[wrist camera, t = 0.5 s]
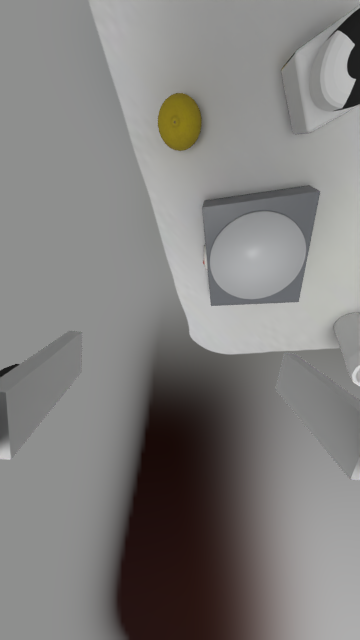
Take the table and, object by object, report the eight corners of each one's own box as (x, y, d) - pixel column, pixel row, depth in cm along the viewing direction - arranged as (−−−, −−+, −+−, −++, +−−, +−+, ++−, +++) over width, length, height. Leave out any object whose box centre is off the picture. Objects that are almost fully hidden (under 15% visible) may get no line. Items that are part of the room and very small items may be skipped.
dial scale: (200, 201, 38) (197, 209, 33) (309, 185, 34) (321, 192, 30) (208, 292, 48) (207, 307, 44) (292, 288, 45) (299, 303, 41)
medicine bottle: (348, 21, 24) (424, -52, 15) (353, 100, 28) (418, 80, 19) (279, 69, 27) (308, 33, 18) (292, 135, 31) (322, 133, 22)
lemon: (157, 124, 32) (141, 120, 26) (185, 86, 29) (175, 71, 23) (182, 159, 34) (173, 163, 28) (211, 126, 32) (208, 123, 25)
